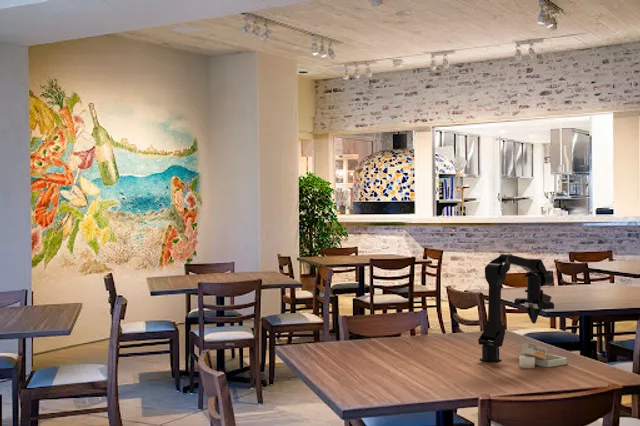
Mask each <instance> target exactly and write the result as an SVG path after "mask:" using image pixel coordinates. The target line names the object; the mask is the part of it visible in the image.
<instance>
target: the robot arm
mask: <svg viewBox="0 0 640 426" xmlns="http://www.w3.org/2000/svg"><path fill="white" fill-rule="evenodd" d="M511 265H512V266H515V267H516V266H517V267H520V268H521V269H522V270H524V271H526V273H525V274H524V276H523V278H526V289H524V293H526V297H517V298H515V299H514V301H513V302H514V305H515V306H520V305H524V306H523V309H525V311H526V314H527V315H528V317H529V319H530V321H531V323H532V324H536V323H537V319H538V318H539V314H540V313H541V311H543V310H553V309H554V310H555V303H554V302H553V301H552V300H551V299H552V296H551V295H549V294H547V293H546V294H545V293H544V290H543V289H542V287H550V286H552V285H553V284H554V281H555V279H554V276H553V275H552V274H551V271H550V270H547V268H546V265H545V264H544V262H543V260H542V259H540V258H530V257H529V258H525V257H521V256H518V255H513V254H511V253H501V254H500V255H499V256H498V257H496V258H494V259H493V260H491V261H490V262H489V263H488V264H486V266H485V267H484V278H485V280H486V282H487V285H488V303H487V304H488V305H487V307H488V308H487V321H486V322H485V323H484V325H483V330H482V331H483V332H481V335H480V336H479V338H478V339H477V341H478V345H480V346H481V348H482V349H481V350H482V352H481V357H480V358H479V360H480V361H484V362H487V363H494V362H495V363H496V362H501V361H502V359H500V348H501V347H502V346H503V343H504V339H505V335H506V324H505V323H503V322H502V321H501V303H502V297H501V296H502V284H504V281H505V280H506V276H507V275H506V274H507V273H508V272H509V271H510V269H511Z"/></svg>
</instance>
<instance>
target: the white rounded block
mask: <svg viewBox="0 0 640 426" xmlns="http://www.w3.org/2000/svg"><path fill="white" fill-rule="evenodd" d="M518 361H519V366H518V367H519V368H522V369H534V368H536V364H535V357H534V356H529V355H519V359H518Z"/></svg>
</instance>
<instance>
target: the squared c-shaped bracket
mask: <svg viewBox="0 0 640 426" xmlns="http://www.w3.org/2000/svg"><path fill="white" fill-rule="evenodd" d="M536 365H537V366H540V367H544V368H550V367H556V366H557V367H558V366H564V365H565V366H566V365H568V357H564V356H561V355H560V356H559V355H555V354H551V353H547V354H546V358H545V360H542V359H538V358H535V366H536Z"/></svg>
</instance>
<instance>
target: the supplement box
mask: <svg viewBox="0 0 640 426" xmlns="http://www.w3.org/2000/svg"><path fill="white" fill-rule="evenodd" d="M548 350H549V348H547V347H544V346H541V345H539V344H536V343H532V342H529V341H528V342H525V343H523V344H522V348H521V351H520V356H522V355H529V356H534V357H535V358H538V359H542V360H546V354H548Z"/></svg>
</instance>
